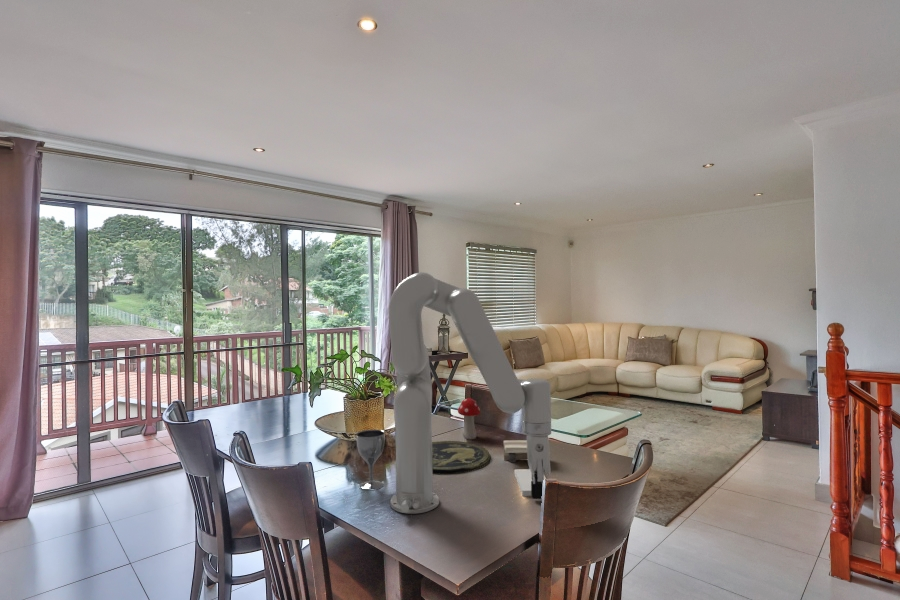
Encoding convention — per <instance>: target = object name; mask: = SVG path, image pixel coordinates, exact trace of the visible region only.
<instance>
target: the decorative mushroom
mask: <svg viewBox="0 0 900 600" xmlns="http://www.w3.org/2000/svg"><path fill="white" fill-rule="evenodd" d="M457 413H458V414H459V415H460V416H463V417H464V423H463V424H464V425H463V430H462V437H463V439H464V440H465V439H466V440H475V439H477V434H478V433H477V431H476V427H475V417H476V416H479V415H480V414H481V408H480V407H479V405H478V403H477V401H476V400H474V399H473V398H469V397H468V398H465V399H463V400H462V401H461V403H460V405H459V407H458V409H457Z"/></svg>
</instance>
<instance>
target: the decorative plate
mask: <svg viewBox="0 0 900 600" xmlns="http://www.w3.org/2000/svg"><path fill="white" fill-rule="evenodd" d="M489 460H491V455H490V452H489V451H488V449H486V448H485V447H483V446H481V445H479V444H475V443H471V442H465V441H459V440H436V441H432V466H433V475H455V474H463V473H468V471H469V472H472V470H473V471H476V470H479V469H481V468H483V467H485V466H487V464H488V463H489V462H490V461H489ZM484 465H485V466H484ZM482 466H483V467H482ZM480 467H481V468H480ZM478 468H479V469H478ZM475 469H476V470H475Z"/></svg>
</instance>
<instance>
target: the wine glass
mask: <svg viewBox="0 0 900 600" xmlns="http://www.w3.org/2000/svg"><path fill="white" fill-rule="evenodd" d="M385 438H386V437H385V430H382V429H364V430H361V431H358V432H356V447H357V452H358V454H359V456H360V457H361V458H362V459H363V460H364V461H365V463H366V464H367V466H368V470H369V471H368V472H369V481H364V483H363V482H362V483H361V482H360V483H359V485H360V487H361V488H362V489H377V490H379V488H380V489H382V488H384V486H385V484H384V482H382V481H380V480H374V479H373V474H374V473H373V472H374V465H375V464H376V462H377V460H378V459H379V458H380V456H381V455H382V453H383V451H384V448H385V447H384V446H385ZM383 485H384V486H383ZM381 487H382V488H381Z"/></svg>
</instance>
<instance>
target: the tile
mask: <svg viewBox="0 0 900 600" xmlns="http://www.w3.org/2000/svg"><path fill="white" fill-rule="evenodd" d="M514 476H515V479H517V480H516V482H518V483H517V485H518V487H519V488H518V489H519V490H520V492H521V496H522V497H532V496H531V481H532V476H531V471H530V468H528V469H524V468H522V469H514ZM544 479H547V477H546V476H545V475H544Z"/></svg>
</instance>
